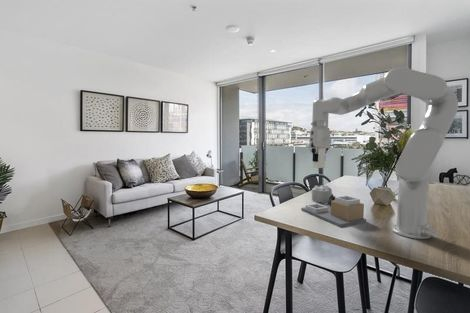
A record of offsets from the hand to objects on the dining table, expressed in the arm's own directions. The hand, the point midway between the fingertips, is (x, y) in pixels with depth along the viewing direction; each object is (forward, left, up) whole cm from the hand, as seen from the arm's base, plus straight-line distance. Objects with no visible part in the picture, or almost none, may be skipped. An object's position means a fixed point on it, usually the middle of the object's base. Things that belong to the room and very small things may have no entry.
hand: (318, 161), depth 120 cm
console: (-7, -3, -27) cm, 28 cm away
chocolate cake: (+2, -16, -27) cm, 32 cm away
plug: (0, 0, -3) cm, 3 cm away
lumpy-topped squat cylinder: (+18, -20, -27) cm, 38 cm away
